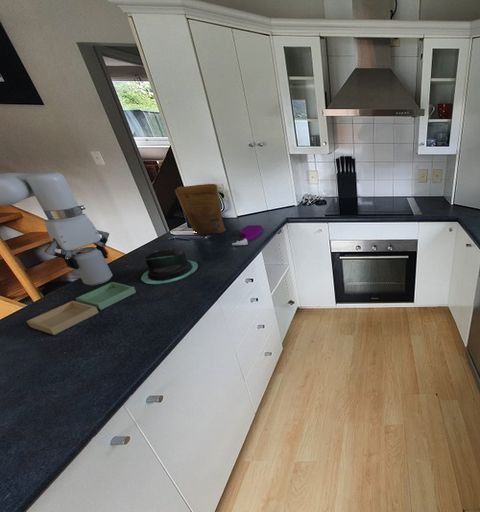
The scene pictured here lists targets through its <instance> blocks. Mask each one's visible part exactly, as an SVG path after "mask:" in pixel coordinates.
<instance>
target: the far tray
mask: <svg viewBox="0 0 480 512" xmlns="http://www.w3.org/2000/svg"><path fill="white" fill-rule="evenodd" d="M135 293H137V291H136V288H135V286H131V285H126V284H123V283H119V282H114V281H111V282H109V283H107V284H105V285H102V286H100V287H98V288H96V289H95V288H94V289H93V290H90V291H89V292H86V293H84V294H82V295H79V296H78V297H75V301H76V302H80V303H84V304H87V305H91V306H94V307H96V308H97V310H98V311H102V310H103V309H106V308H108V307H110V306H112V305H114V304H116V303H118V302H120V301H122V300H123V299H126V298H128V297H130V296H132V295H134V294H135Z"/></svg>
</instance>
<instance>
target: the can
mask: <svg viewBox="0 0 480 512" xmlns="http://www.w3.org/2000/svg"><path fill="white" fill-rule="evenodd" d="M71 258H74V259H75V261H76V263H77V265H78V267H79V269H75V270H76V272H77V274H78V275H79V277H80V280H81V281H82V283H83V284H85V285H88V286H97V285H100V284H105V283H106V282H108V281H110V280H111V278H113V273H112V271H111V269H110V267H109V265H108V262H107V261H106V258H104V257H103V255H102V253H101V251H100V250H97V248H96V246H85V247H81V248H78V249H74V250H72V254H71Z"/></svg>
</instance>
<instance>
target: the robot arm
mask: <svg viewBox="0 0 480 512" xmlns="http://www.w3.org/2000/svg"><path fill="white" fill-rule="evenodd" d="M33 197H35V199H36V200H37V202H38V204H39V206H40V207H41V209H42V211H43V213H44V214H45V216H46V218H47V219H46V220H44V224H45V228H46V232H47V234H48V237H49V239H50V241H51V242H50V243H49V244H48V245H47V246H46V247H45V249H44V250H43V252H44V253H45V254H48V255H50V256H53V257H57V258H61V259H63V261H64V262H65V264H66V266H67V267H68V268H70V269H74V270H76V269H79V267H78V265H77V263H76V261H75V259H74V258H71V254H72V252H73V251H75V250H77V249H81V248H85V247H88V246H90V245H94V246H95V247H96V248H97V250H100V251H101V253H102V255H103V257H104V259H109V256H108V251H107V250H106V244H107V242H108V239H109V237H110V233H109V232H108V231H103V230H98V229H97V228H96V226H95V225H94V223H93V221H92V220H91V219H90V218H89V217H88V215H87V214H86V213H84V212H83V211H84V210H86V207H85V205H83V204H82V205H80V204H79V203H78V202H77V199H76V197H75V195H74V193H73V191H72V189H71V187H70V185H69V183H68V180H67V179H66V177H65V176H64V174H62V173H61V172H59V171H39V172H32V173H31V172H30V173H29V172H1V173H0V206H2V207H3V206H5V207H6V206H7V207H8V206H13V205H17V204H18V203H20V202H22V201H24V200H27V199H29V198H33ZM55 250H60V252H57V251H55Z"/></svg>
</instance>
